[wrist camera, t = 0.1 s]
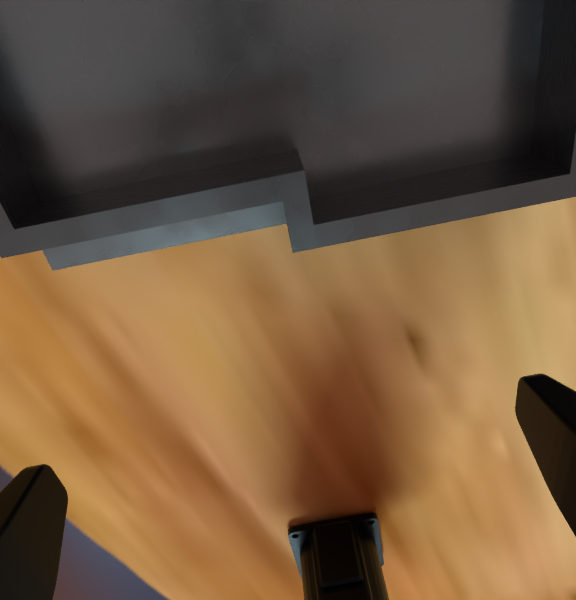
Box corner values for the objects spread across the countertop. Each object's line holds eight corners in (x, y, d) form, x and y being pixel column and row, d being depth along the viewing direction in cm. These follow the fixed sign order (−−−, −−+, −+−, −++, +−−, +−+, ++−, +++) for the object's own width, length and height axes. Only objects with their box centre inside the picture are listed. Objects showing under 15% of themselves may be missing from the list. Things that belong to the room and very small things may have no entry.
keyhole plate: (544, 166, 22) (592, 193, 19) (56, 264, 23) (28, 305, 20) (596, -335, 14) (694, -427, 11) (-155, -161, 15) (-258, -202, 12)
